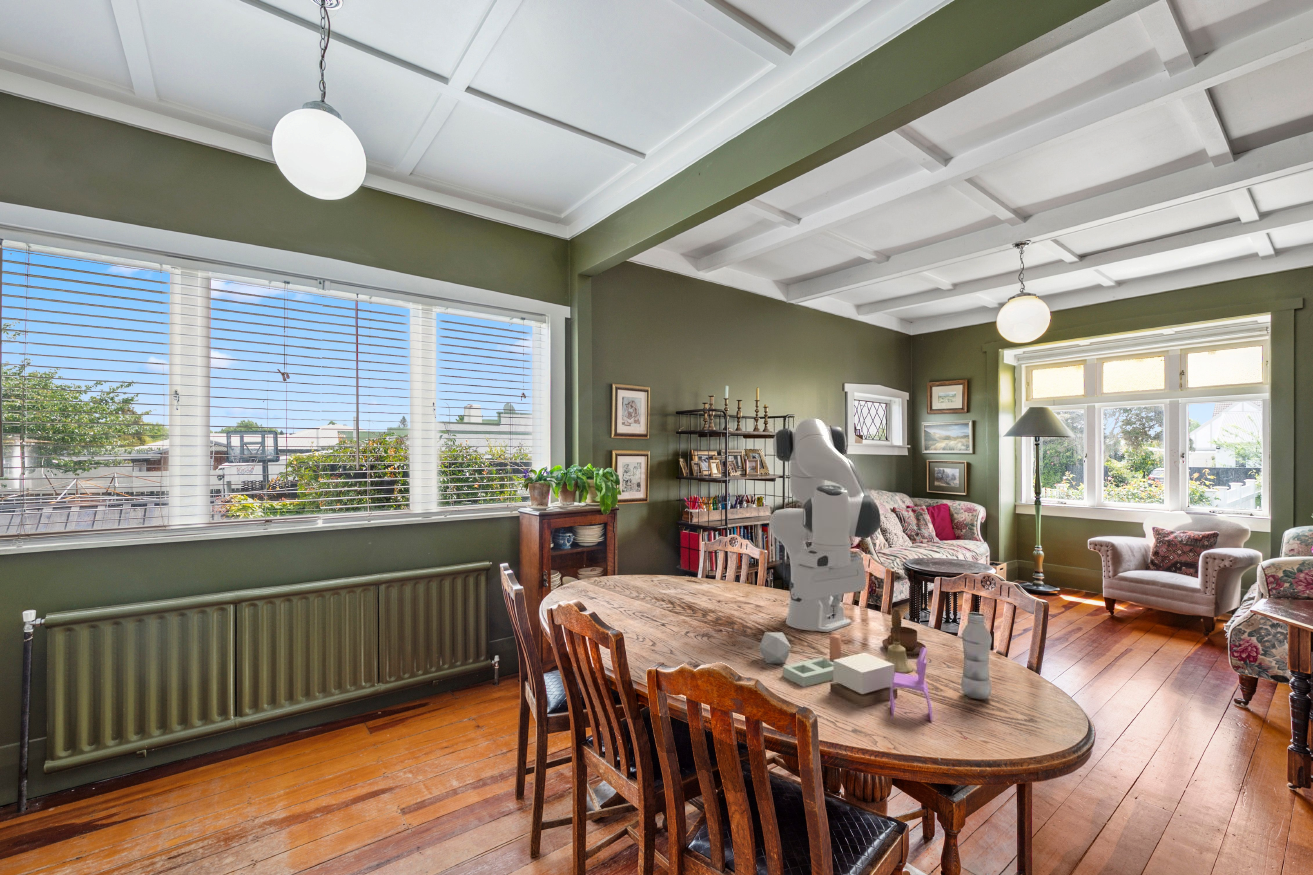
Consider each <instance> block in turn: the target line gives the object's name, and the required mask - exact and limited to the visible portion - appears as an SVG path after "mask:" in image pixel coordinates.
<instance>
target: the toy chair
mask: <svg viewBox="0 0 1313 875" xmlns="http://www.w3.org/2000/svg"><path fill="white" fill-rule="evenodd" d="M927 651H928V648H927V647H926V648H925V647H922V648H921V650H920V654H918V655H919V656H918V658H917V661H916V663H915V664H916V665H915V666H916V670H915V674H917V675H911V674H906V673H898V672H894V678H893V680H892V685H891V690H890V699H889V701H890V702H889V703H890V711H891V714H892V715H893V716H894V714H895V711H896V710H895V709H896V701H895V698H894V697H893V688H901V689H911V690H915V691H919V692H922V693H923V694H924V695H925V699H926V704H927V709H928V714H929V719H930V722H931V723H933V716H934V714H933V712H934V711H933V708H932V703H931V700H930V694H929V688H928V687H929V686H928V683H927V682H926V679H925V678H926V669H927V663H928V661H927V659H925V658H926V655H927Z"/></svg>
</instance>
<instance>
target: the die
mask: <svg viewBox="0 0 1313 875" xmlns="http://www.w3.org/2000/svg"><path fill="white" fill-rule="evenodd" d="M758 649H759V651H760V653H761V655H762V657H763V659H764V661H765V663H766V664H786V662H787V659H788V657H789V654H790V652H791V650H792V646H791V645H790V643H789V640H788V639H787V637H786V636H785V633H784V632H782V631H781V632H780V631H779V632H774V631H773V632H771V631H769V632H767V631H766V632H764V633H763V636H762V638H761V641H760V644H759V646H758Z"/></svg>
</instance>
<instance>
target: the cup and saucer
mask: <svg viewBox="0 0 1313 875" xmlns="http://www.w3.org/2000/svg"><path fill="white" fill-rule="evenodd" d="M893 636H894V631H893V627H890V634H889V635H888V636H887V638H884V639H883V640H881V642H882V645H883V647H884V648H885V649H887V650H888V647H889V646H890V645H893V639H894V638H893ZM900 645H901V646H902V647H904V648H905V649H906V656H907V655H910V656H911V655H912V656H913V655H914V656H915V655H920V650H921V648H922V647H925V648H927V647H926V645H925V644H923V643H922V642H920V641H918V630H917V629H915V628H912V627H909V626H902V625H901V628H900Z"/></svg>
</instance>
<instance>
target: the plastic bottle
mask: <svg viewBox="0 0 1313 875" xmlns="http://www.w3.org/2000/svg"><path fill="white" fill-rule="evenodd" d="M967 622H968V623H967V625H966V626H965V627H964V628H963V629H962V632H961V642H962V648H963V667H962V668H963V669H962V676H961V680H960V687H961V691H962V693H963V694H964V696H966V697H968V698H971V699H975V700H987V699H989V698H990V696H991V694H992V689H993V688H992V683H991V678H990V666H989V664H990V661H989V660H990V651H991V648H992V647H991V645H992V641H993V640H992V639H993V638H992V636H991V633H990V631H989V630H988V628H987V627H986V626H985V624H986V615H985V614H984V613H980V612H975V611H971V612H968V613H967Z"/></svg>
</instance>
